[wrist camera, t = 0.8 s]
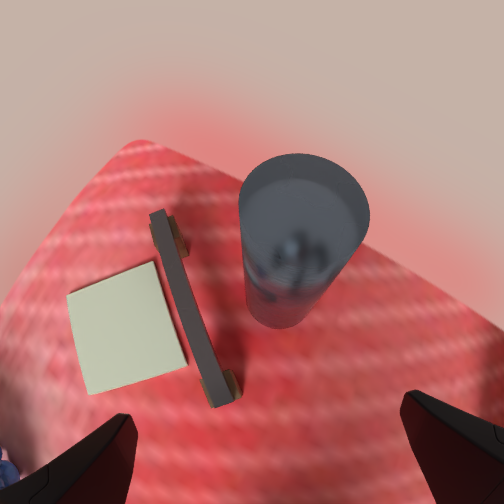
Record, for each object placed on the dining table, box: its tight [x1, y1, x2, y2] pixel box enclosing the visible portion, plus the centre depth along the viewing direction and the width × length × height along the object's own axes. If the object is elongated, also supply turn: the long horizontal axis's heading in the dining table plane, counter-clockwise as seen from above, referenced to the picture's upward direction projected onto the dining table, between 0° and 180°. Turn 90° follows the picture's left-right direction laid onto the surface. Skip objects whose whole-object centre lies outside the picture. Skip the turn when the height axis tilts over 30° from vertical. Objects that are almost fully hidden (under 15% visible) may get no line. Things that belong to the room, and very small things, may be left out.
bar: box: [149, 209, 235, 408], centre depth 19 cm, size 14×1×1 cm, turn 22°
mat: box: [66, 261, 188, 395], centre depth 22 cm, size 9×9×1 cm
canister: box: [239, 154, 370, 329], centre depth 17 cm, size 5×5×13 cm
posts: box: [149, 215, 243, 408], centre depth 21 cm, size 14×2×4 cm, turn 22°
